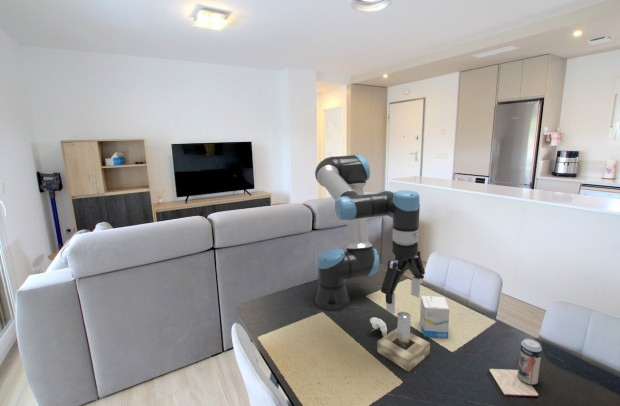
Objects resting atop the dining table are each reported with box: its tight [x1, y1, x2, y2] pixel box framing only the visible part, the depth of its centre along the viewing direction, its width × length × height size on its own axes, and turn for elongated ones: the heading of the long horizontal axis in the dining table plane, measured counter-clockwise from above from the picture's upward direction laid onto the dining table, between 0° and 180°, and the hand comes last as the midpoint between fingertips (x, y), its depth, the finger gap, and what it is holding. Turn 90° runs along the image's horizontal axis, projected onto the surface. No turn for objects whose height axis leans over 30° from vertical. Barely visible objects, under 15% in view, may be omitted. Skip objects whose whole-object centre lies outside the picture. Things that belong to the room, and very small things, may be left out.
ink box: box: [419, 295, 450, 339], centre depth 109 cm, size 9×8×12 cm
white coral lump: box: [369, 317, 388, 338], centre depth 111 cm, size 8×7×6 cm
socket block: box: [376, 327, 431, 373], centre depth 99 cm, size 12×12×4 cm
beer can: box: [517, 338, 543, 385], centre depth 85 cm, size 5×5×12 cm
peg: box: [396, 311, 411, 350], centre depth 98 cm, size 4×4×14 cm
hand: (403, 303), depth 96 cm, fingers open, 13 cm apart
